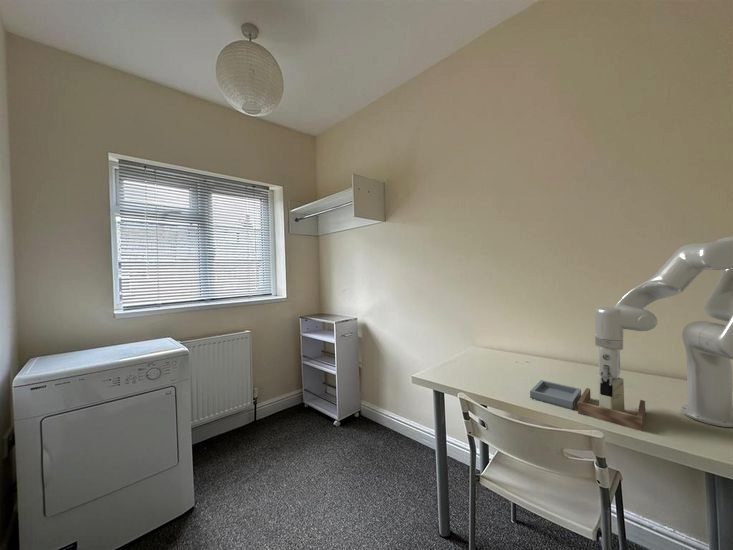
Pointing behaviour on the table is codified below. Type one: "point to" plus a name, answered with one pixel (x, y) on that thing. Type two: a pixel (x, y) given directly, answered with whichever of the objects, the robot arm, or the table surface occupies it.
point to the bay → (611, 413)
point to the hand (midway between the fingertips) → (608, 390)
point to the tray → (556, 394)
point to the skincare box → (618, 396)
